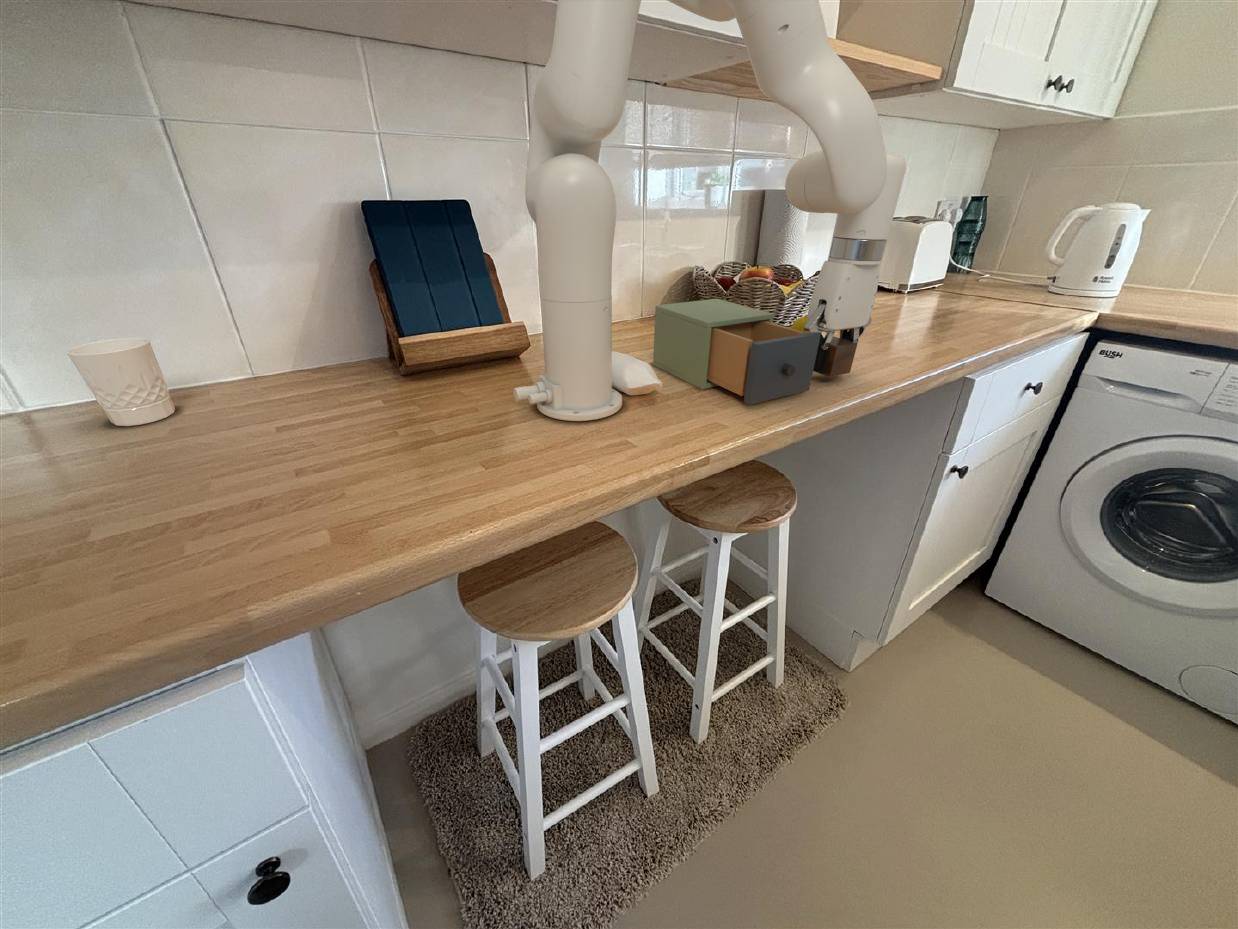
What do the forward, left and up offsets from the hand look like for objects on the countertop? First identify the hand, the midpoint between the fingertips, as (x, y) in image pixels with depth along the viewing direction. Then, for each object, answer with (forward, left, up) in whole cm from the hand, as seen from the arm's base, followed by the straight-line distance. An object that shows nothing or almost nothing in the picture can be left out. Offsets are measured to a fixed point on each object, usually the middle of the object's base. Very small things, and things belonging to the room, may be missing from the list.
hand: (828, 367), depth 82 cm
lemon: (+7, +12, -2) cm, 14 cm away
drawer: (-14, +3, -1) cm, 15 cm away
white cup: (-96, +35, -2) cm, 102 cm away
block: (0, 0, 0) cm, 0 cm away
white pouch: (-32, +10, -2) cm, 34 cm away
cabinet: (-14, +14, -2) cm, 20 cm away
